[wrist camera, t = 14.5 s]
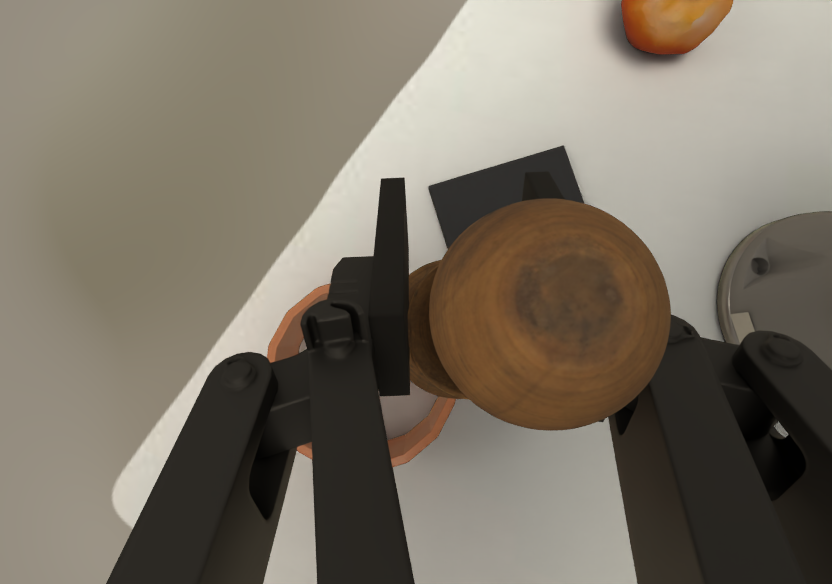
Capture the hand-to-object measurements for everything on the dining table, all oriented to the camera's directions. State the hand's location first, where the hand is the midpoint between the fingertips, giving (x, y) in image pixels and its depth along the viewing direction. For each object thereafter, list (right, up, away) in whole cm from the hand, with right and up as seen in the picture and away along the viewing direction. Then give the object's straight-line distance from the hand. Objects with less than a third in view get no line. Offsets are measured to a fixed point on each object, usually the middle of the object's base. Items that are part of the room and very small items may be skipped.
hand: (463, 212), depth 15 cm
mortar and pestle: (0, -5, +8) cm, 9 cm away
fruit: (+19, +20, +24) cm, 37 cm away
